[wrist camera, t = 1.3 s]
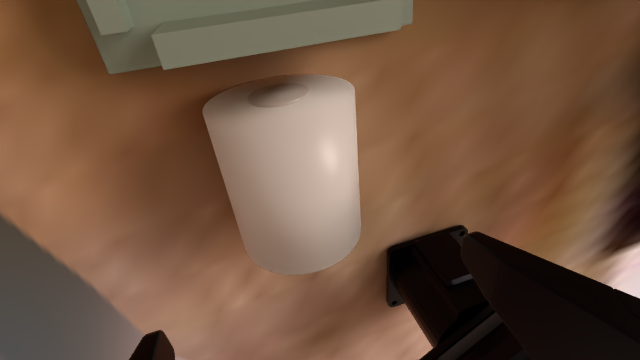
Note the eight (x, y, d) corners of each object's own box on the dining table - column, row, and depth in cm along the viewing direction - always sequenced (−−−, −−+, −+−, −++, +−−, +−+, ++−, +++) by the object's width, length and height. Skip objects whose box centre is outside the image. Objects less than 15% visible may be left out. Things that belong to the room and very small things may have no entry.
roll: (325, 185, 20) (385, 241, 16) (231, 221, 18) (268, 299, 14) (311, 63, 16) (387, 91, 12) (189, 92, 14) (222, 141, 10)
